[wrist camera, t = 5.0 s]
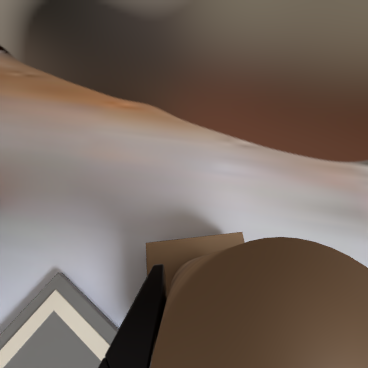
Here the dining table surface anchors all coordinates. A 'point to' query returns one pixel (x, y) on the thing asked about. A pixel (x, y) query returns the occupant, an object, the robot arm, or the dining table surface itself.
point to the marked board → (57, 331)
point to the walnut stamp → (260, 304)
